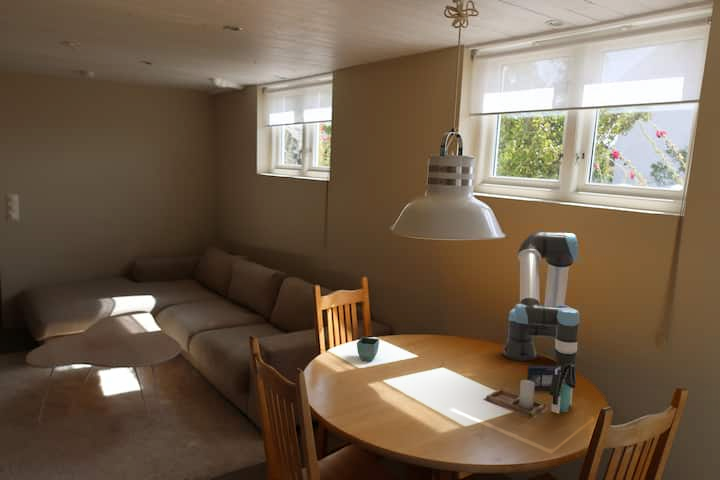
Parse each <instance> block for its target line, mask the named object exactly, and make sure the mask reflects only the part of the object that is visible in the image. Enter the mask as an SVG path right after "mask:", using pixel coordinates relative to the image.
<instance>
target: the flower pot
mask: <svg viewBox="0 0 720 480" xmlns="http://www.w3.org/2000/svg"><path fill="white" fill-rule="evenodd" d="M379 343H380V339H379V338H373V337H364V336H363V337H360V339H358V340H357V342H356V349H357V354H358V357H359V359H360V360H362V361H365V360H366V362H367V361H368V362H373V360H374V359H375V357H376V356H377V353H378V352H379V346H380V345H379Z"/></svg>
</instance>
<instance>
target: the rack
mask: <svg viewBox="0 0 720 480" xmlns="http://www.w3.org/2000/svg"><path fill="white" fill-rule="evenodd" d="M482 400H483V401H485V402H488V403H491V404H492V405H496V406H498V407H501V408H503V409H505V410H509V411H512V412H514V413H516V414H519V415H520V416H524V417H527V418H529V419H531V420H535V419H536V418H537V417H539V416H540V415H541V414H543V413H545V412H547V410H549V408H550V407H549V408H548V407H546V404H545V403H542V402H539V401H537V400H534V402H533V410H532V411H529V410H526V409H523V408H521V407H519V400H520V394H517V393H514V392H511V391H508V390H506V389H503V388H499V389H497V390H495V391H493V392H491V393H489V394H487V395H486V397H485V398H483V399H482Z"/></svg>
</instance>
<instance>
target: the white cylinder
mask: <svg viewBox="0 0 720 480" xmlns="http://www.w3.org/2000/svg"><path fill="white" fill-rule="evenodd" d="M519 384H520V387H519V395H520V400H519V407H521V408H523V409H526V410H529V411H532V410H533V402H534V401H535V400H534V399H535V389H534V386H535V383H534V382H532V381H530V380H527V379H523V380H521V381H520V383H519Z"/></svg>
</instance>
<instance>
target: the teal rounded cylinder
mask: <svg viewBox="0 0 720 480" xmlns="http://www.w3.org/2000/svg"><path fill="white" fill-rule="evenodd" d="M559 396H561V397H560V411H559V413H568V412H569V408H570V405H569V398H570V386H568V385H566V384H562V388H561V391H560V395H559Z"/></svg>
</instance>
